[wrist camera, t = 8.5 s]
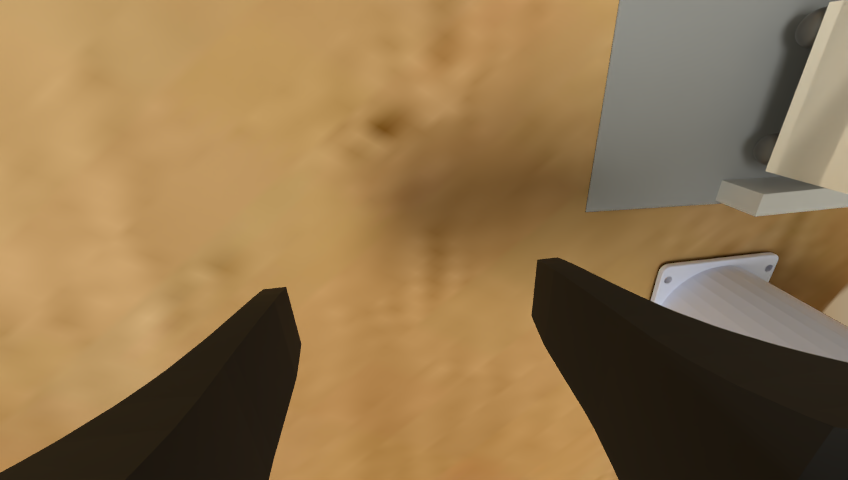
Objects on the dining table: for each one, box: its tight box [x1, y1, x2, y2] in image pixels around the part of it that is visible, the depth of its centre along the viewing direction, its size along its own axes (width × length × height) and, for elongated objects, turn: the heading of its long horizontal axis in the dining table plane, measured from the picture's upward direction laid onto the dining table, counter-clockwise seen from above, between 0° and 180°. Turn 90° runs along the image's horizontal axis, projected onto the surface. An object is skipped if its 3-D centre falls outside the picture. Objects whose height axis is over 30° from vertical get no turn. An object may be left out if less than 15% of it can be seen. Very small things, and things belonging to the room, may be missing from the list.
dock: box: [586, 0, 848, 216], centre depth 17 cm, size 12×18×5 cm
